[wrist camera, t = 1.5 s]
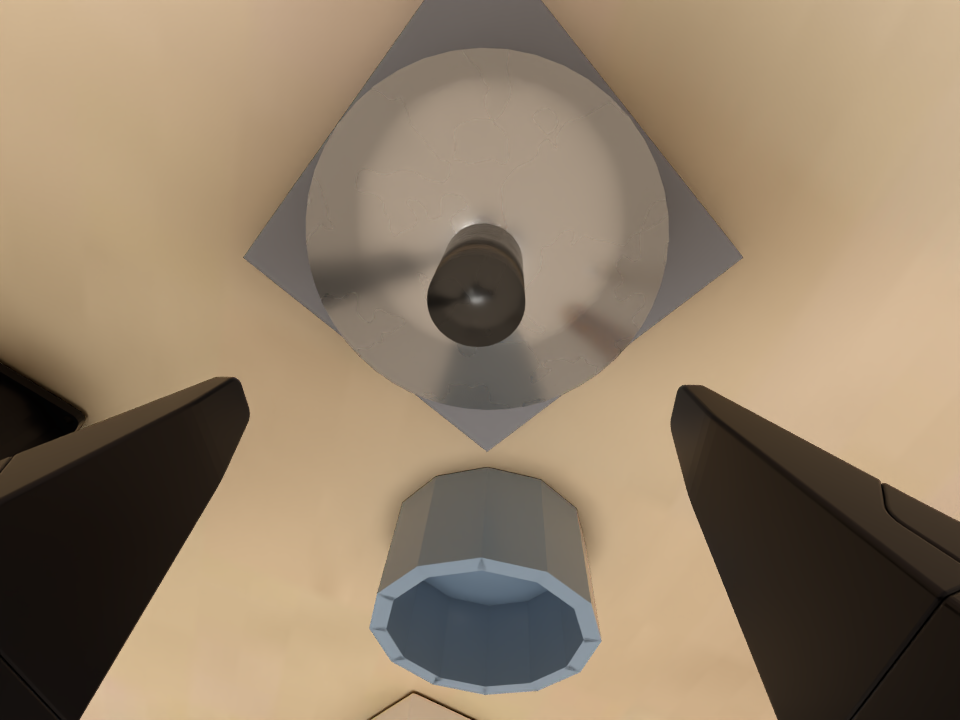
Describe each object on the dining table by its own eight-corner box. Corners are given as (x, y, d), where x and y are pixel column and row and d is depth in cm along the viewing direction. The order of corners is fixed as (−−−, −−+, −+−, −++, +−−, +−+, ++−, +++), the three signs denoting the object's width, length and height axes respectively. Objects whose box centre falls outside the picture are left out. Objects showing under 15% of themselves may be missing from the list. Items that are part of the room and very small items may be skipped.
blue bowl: (361, 534, 27) (328, 626, 22) (487, 436, 23) (480, 523, 18) (489, 617, 30) (485, 713, 26) (621, 545, 26) (645, 643, 21)
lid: (249, 257, 19) (173, 302, 14) (479, -66, 13) (464, -145, 9) (487, 446, 23) (481, 524, 18) (735, 257, 17) (806, 304, 13)
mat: (249, 254, 19) (243, 257, 19) (480, -73, 14) (479, -78, 13) (487, 445, 23) (487, 451, 23) (737, 253, 18) (743, 257, 17)
